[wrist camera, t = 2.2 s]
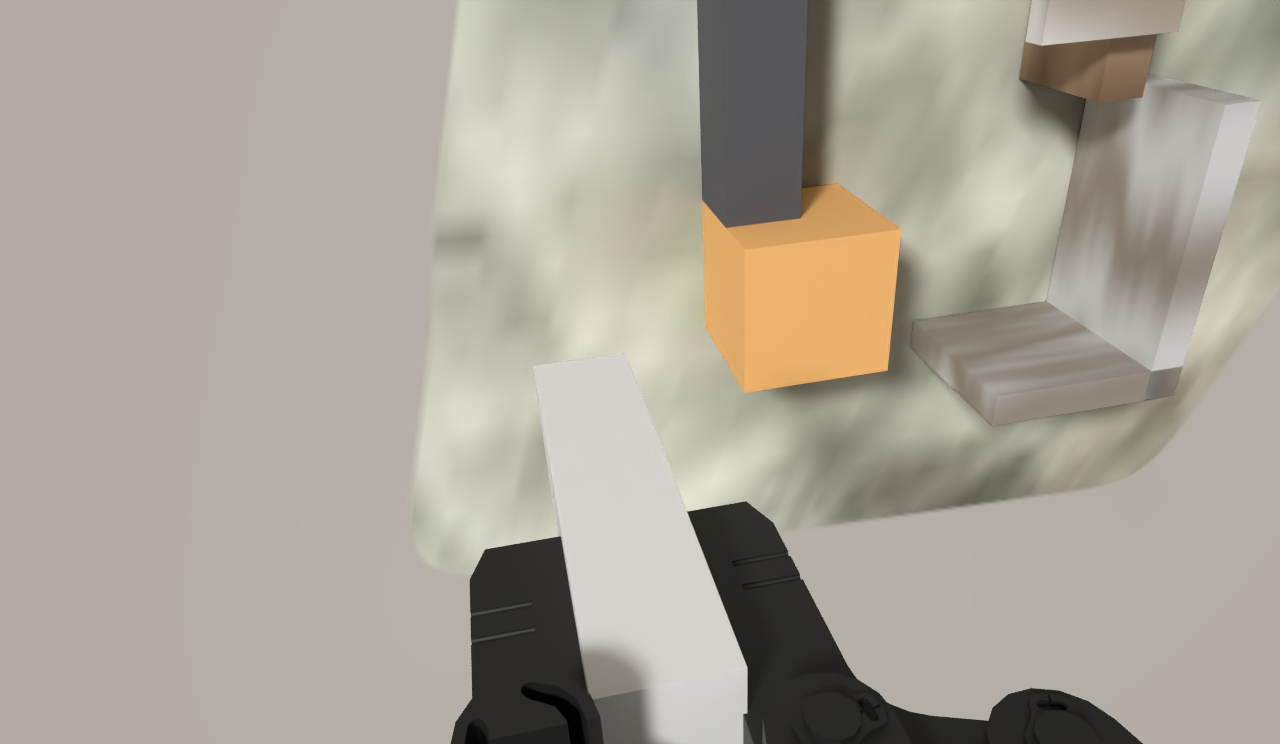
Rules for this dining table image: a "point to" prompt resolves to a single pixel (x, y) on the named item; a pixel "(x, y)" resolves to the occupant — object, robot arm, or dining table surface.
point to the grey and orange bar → (781, 214)
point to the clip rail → (1108, 226)
